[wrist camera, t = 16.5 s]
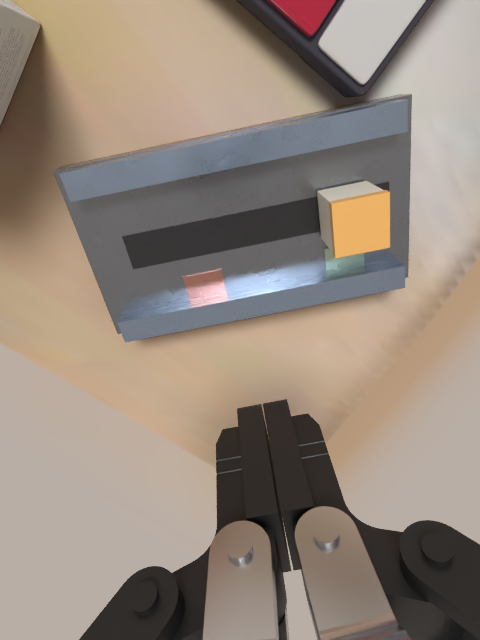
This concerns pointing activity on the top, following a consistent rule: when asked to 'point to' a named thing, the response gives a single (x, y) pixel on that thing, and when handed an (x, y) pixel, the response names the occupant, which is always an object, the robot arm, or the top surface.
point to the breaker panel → (239, 218)
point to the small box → (13, 48)
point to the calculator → (342, 35)
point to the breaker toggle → (354, 218)
